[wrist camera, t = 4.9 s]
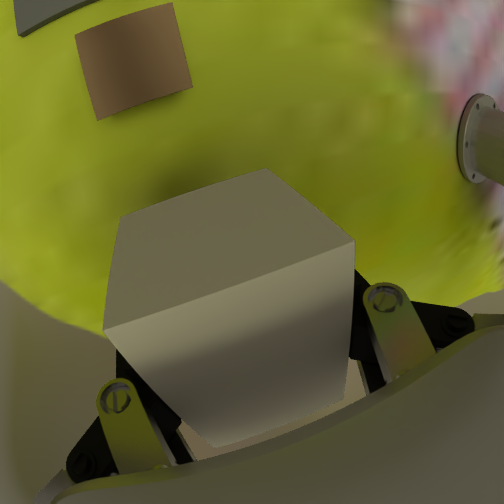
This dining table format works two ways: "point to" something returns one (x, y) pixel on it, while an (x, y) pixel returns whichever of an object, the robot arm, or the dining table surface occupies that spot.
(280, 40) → the dining table surface
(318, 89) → the dining table surface
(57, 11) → the base plate
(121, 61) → the walnut cube
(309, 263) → the cream brick
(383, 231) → the dining table surface
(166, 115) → the dining table surface
